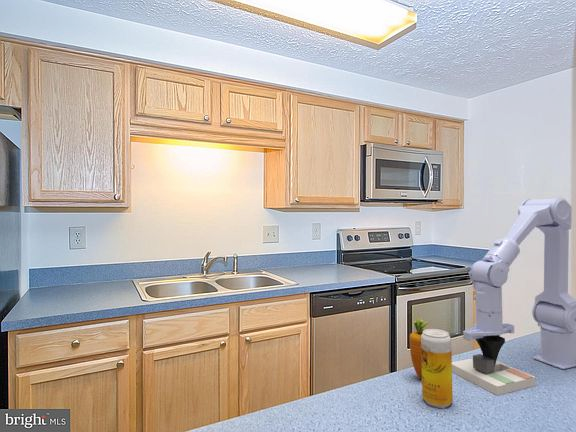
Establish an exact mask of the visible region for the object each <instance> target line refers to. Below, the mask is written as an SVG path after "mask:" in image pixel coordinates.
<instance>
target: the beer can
mask: <svg viewBox="0 0 576 432" xmlns="http://www.w3.org/2000/svg"><path fill="white" fill-rule="evenodd" d="M452 350H453V349H452V338H451V336H450V333H449V331H446V330H443V329H439V328H438V329H437V328H427V329H426V328H425V330H424V331H423V333H422V335H421V360H422V379H421V393H422V394H421V396H422V398H423V400H424V401H425V403H426V404H428V405H429V406H431V407H434V408H437V409H438V408H439V409H445V408H448V407H449V406H450V405H451V404H452V403H453V399H454V398H453V394H454V393H453V372H452V359H453V358H452Z"/></svg>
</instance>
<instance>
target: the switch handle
mask: <svg viewBox="0 0 576 432" xmlns="http://www.w3.org/2000/svg"><path fill="white" fill-rule="evenodd" d="M472 358H473V368H475V369H477V370H478V372H480V373H483V374H489V373H494V360H493V359H491V358H488V357H486V356H484V355H483V354H481V353H479V354H473V355H472Z"/></svg>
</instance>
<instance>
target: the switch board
mask: <svg viewBox="0 0 576 432" xmlns="http://www.w3.org/2000/svg"><path fill="white" fill-rule="evenodd" d="M453 373H454V374H455V375H458V376H459V377H460V378H463V379H465V380H466V381H469V382H471V383H473V384H475V385H476V386H479V387H480V388H482V389H484V390H486V391H488V392H490V393H492V394H494V395H496V396H501V395H505V394H508V393H512V392H516V391H519V390H524V389H528V388H531V387H536V385H537V383H536V376H534V375H531V374H529V373H526V372H525V371H523V370H519V369H517V368H515V367H512V366H510V365H508V364H505V363H503V362H501V361H498V360H496V364H495V367H494V373H489V374H483V373H480V372H478V370H477V369H475V368H473V357H471V358H467V359H463V360H457V361H453V362H452V374H453Z"/></svg>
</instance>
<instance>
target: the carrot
mask: <svg viewBox="0 0 576 432" xmlns="http://www.w3.org/2000/svg"><path fill="white" fill-rule="evenodd" d="M413 323H414V327H415V330H416V331H414V332H411V333H410V334H409V337H408V338H409V349H410V350H409V353H410V357H411V362H412V367H413V369H414V372H415V373H416V376H417V378H418V379H419V380H422V360H421V335H422V333H423V331H424V330H426V328H425V327H426V326H427V325H428V324H429V321H426V322H424V320H423V319H419V317H418V318H415V321H413Z"/></svg>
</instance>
